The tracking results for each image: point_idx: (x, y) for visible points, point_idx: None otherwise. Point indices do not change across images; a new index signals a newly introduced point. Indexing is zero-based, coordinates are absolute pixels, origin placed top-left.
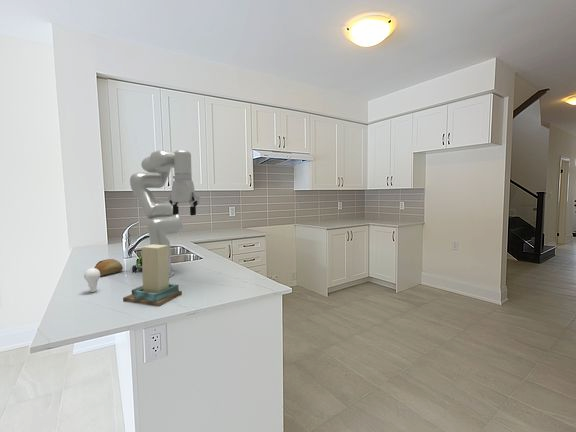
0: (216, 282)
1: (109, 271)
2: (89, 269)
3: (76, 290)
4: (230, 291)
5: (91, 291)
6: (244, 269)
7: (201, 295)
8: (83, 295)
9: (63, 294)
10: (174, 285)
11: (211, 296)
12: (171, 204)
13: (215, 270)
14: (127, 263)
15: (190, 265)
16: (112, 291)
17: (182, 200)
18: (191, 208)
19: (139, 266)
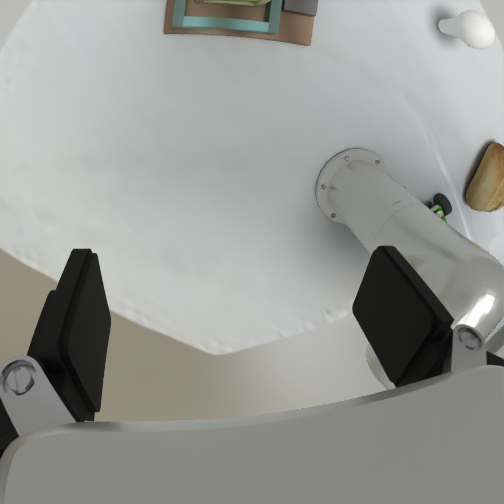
0: (121, 177)
1: (481, 164)
2: (489, 24)
3: None
4: (31, 120)
5: (442, 19)
6: (125, 314)
7: (94, 51)
8: (443, 4)
9: None
10: (181, 14)
11: (59, 58)
12: (482, 341)
13: (207, 282)
14: None
15: (316, 297)
16: (402, 29)
17: (233, 469)
18: (47, 328)
19: (434, 208)
